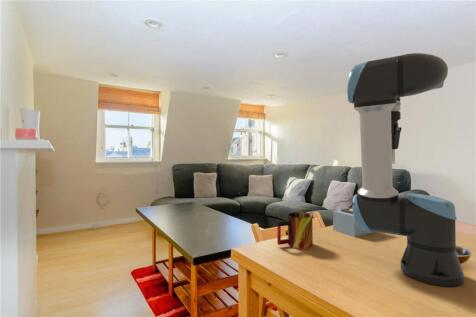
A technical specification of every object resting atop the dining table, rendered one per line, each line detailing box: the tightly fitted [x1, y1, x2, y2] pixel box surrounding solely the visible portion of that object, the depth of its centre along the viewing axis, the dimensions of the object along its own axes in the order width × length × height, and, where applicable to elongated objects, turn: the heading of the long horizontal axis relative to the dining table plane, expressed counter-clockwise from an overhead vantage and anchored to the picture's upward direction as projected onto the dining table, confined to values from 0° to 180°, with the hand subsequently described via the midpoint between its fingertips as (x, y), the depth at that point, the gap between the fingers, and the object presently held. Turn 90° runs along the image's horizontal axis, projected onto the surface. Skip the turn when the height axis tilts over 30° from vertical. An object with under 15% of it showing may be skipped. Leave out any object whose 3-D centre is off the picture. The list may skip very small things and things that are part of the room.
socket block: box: [332, 207, 376, 238], centre depth 122 cm, size 14×12×10 cm
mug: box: [276, 211, 314, 250], centre depth 103 cm, size 10×14×12 cm
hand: (391, 163), depth 119 cm, fingers closed
